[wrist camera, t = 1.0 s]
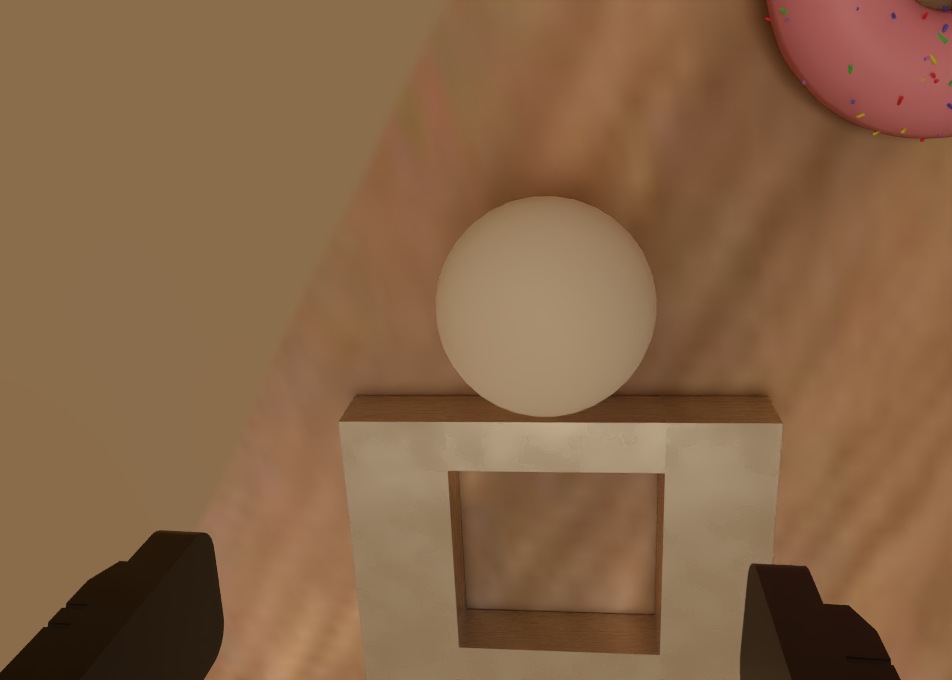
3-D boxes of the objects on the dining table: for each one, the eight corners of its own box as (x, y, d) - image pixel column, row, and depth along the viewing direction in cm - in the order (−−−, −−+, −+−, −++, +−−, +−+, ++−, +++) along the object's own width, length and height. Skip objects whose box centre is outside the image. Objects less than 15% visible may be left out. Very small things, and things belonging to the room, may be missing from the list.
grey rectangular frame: (767, 396, 32) (782, 423, 30) (749, 657, 36) (761, 700, 34) (355, 395, 34) (338, 421, 32) (379, 644, 38) (366, 683, 36)
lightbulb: (453, 299, 32) (394, 419, 22) (492, 140, 30) (448, 190, 20) (609, 341, 32) (623, 482, 22) (659, 185, 30) (702, 258, 20)
